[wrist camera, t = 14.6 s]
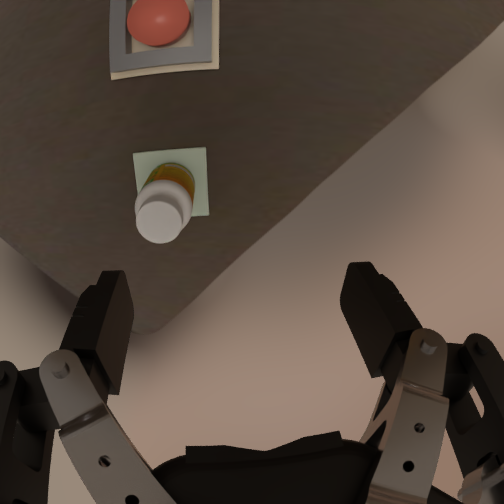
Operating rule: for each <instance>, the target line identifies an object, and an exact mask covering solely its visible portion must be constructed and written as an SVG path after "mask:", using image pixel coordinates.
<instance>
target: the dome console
mask: <svg viewBox="0 0 504 504" xmlns="http://www.w3.org/2000/svg"><path fill="white" fill-rule="evenodd" d="M136 1H137V0H110V24H109V52H110V73H111V80H117V79H123V78H129V77H136V76H143V75H151V74H159V73H168V72H179V71H192V70H210V69H219V0H185V2H186V4H187V6H188V9H189V11H190V15H191V24H190V27H189V30H188V32H187V33H186V35H185V36H184V37H183V38H182V39H181V40H179V41H178V42H177V43H175V44H173V45H170V46H167V47H161V48H156V47H151V46H148V45H146V44H143V43H141V42H139V41H137V40H136V39H135V38H133V36H132V35H131V34H130V32H129V30H128V27H127V17H128V13H129V11H130V9H131V7H132V6H133V4H134V3H135V2H136Z"/></svg>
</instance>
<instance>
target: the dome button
mask: <svg viewBox="0 0 504 504" xmlns="http://www.w3.org/2000/svg"><path fill="white" fill-rule="evenodd" d="M190 24H191V15H190V11H189V9H188V6H187V4H186V2H185V0H137V1H136V2H135V3H134V4H133V6H132V7H131V9H130V11H129V13H128V17H127V27H128V30H129V32H130V34H131V35H132V36H133V38H135V39H136V40H137V41H139V42H141V43H143V44H146V45H148V46H151V47H156V48H161V47H167V46H170V45H173V44H175V43H177V42H178V41H179V40H181V39H182V38H183V37H184V36H185V35H186V33H187V32H188V30H189V27H190Z"/></svg>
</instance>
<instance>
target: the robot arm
mask: <svg viewBox="0 0 504 504" xmlns="http://www.w3.org/2000/svg"><path fill="white" fill-rule="evenodd" d="M340 305H341V310H342V312H343V314H344V317H345V319H346V321H347V323H348V325H349V328H350V330H351V332H352V334H353V336H354V339H355V341H356V343H357V345H358V348H359V350H360V352H361V355H362V357H363V359H364V361H365V364H366V366H367V368H368V371H369V373H370V375H371V378H375V377H380V376H383V377H384V379H385V382H384V383H383V386H382V388H381V391H380V394H379V397H378V400H377V403H376V406H375V409H374V411H373V414H372V417H371V419H370V422H369V424H368V427H367V429H366V431H365V432H364V434H363V436H362V437H361V439H360V441H359V442H357V441H353V440H346V439H342V438H341V434H340V431H335V432H330V433H325V434H319V435H313V436H307V437H303V438H300V439H298V440H295V441H293V442H290V443H288V444H285V445H282V446H280V447H277V448H274V449H271V450H268V451H259V450H252V449H245V448H238V447H232V446H226V445H218V446H186V455H183V456H179V457H176V458H174V459H170V460H169V461H166V462H164V463H162V464H161V465H159V466H158V467H156V468H155V469H154V470H153V469H152V468H151V467H150V466H149V464H148V463H147V462H146V461H145V459H144V458H143V457H142V455H141V454H140V453H139V451H138V450H137V449H136V447H135V446H134V445H133V443H132V442H131V441H130V439H129V438H128V436H127V435H126V433H125V432H124V430H123V429H122V427H121V426H120V424H119V423H118V421H117V420H116V418H115V417H114V415H113V414H112V412H111V410H110V409H109V407H108V406H107V399H108V394H112V395H119V392H120V386H121V380H122V374H123V369H124V363H125V357H126V353H127V347H128V343H129V338H130V333H131V329H132V324H133V319H134V308H133V302H132V298H131V295H130V291H129V287H128V283H127V279H126V275H125V272H124V271H123V270H115V271H102V273H101V275H100V277H99V280H98V282H97V284H96V285H90V286H89V287H88V288H87V289H86V290H85V291H84V292H83V293H82V294H81V296H80V298H79V301H78V303H77V305H76V308H75V310H74V312H73V317H71V319H70V322H69V325H68V327H67V330H66V332H65V335H64V338H63V340H62V343H61V346H60V348H59V350H56V351H54V352H52V353H50V354H49V355H47V356H46V357H45V358H44V360H43V361H42V363H41V365H40V367H37V368H32V369H27V370H22V371H18V370H17V368H16V367H15V365H14V364H13V363H11V362H9V361H0V504H47V502H48V485H49V473H50V463H51V454H52V446H53V439H54V432H55V429H61V430H60V431H59V432H58V433H59V437H60V439H61V441H62V444H63V445H64V448H65V449H66V452H67V454H68V456H69V457H70V459H71V461H72V463H73V465H74V467H75V469H76V470H77V472H78V474H79V476H80V477H81V479H82V481H83V483H84V484H85V486H86V487H87V489H88V491H89V492H90V494H91V496H92V497H93V499H94V500H95V502H96V504H504V361H503V359H502V358H501V356H500V354H499V352H498V351H497V350H496V348H495V346H494V344H493V343H492V342H491V341H490V340H489V339H488V338H487V337H485V336H483V335H481V334H478V333H474V334H470V335H469V336H468V337H467V339H466V340H465V342H464V343H463V344H456V343H446V341H445V340H444V338H443V337H442V336H441V335H440V334H439V333H437V332H435V331H434V330H431V329H427V328H423V327H422V325H421V324H420V322H419V321H418V319H417V318H416V316H415V315H414V313H413V311H412V310H411V308H410V307H409V306H408V304H407V302H406V301H404V298H403V297H402V295H401V294H399V291H398V289H397V288H396V286H395V285H394V283H393V282H392V281H391V280H389V279H388V278H387V277H385V276H384V275H383V274H379V273H378V272H377V270H376V269H375V268H374V266H373V264H372V263H371V262H352V263H350V264H349V265H348V268H347V272H346V276H345V280H344V283H343V287H342V291H341V295H340ZM473 386H474V387H475V389H476V391H477V393H478V395H479V397H480V399H481V401H482V403H483V405H484V415H483V417H482V418H481V417H480V414H479V412H478V410H477V407H476V405H475V403H474V401H473V399H472V397H471V395H470V393H469V391H470V390H471V389H472V387H473ZM445 428H446V430H447V433H448V436H449V438H450V441H451V444H452V446H453V449H454V452H455V455H456V457H457V460H458V463H459V466H460V469H461V472H462V474H463V478H464V480H463V483H462V488H461V489H460V490H459V491H458V499H459V500H460V501H462V502H460V501H458V500H456V499H455V498H453V497H451V496H450V495H448V494H446V493H444V492H443V491H441V490H439V489H438V488H436V487H434V486H433V485H432V481H433V477H434V474H435V470H436V467H437V462H438V459H439V454H440V449H441V446H442V441H443V436H444V431H445Z"/></svg>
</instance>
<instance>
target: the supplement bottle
mask: <svg viewBox="0 0 504 504" xmlns="http://www.w3.org/2000/svg"><path fill="white" fill-rule="evenodd" d="M194 193H195V179H194V176H193V174H192V173H191V171H190V170H189V169H188V168H187V167H186V166H184V165H182V164H180V163H177V162H165V163H162V164H160V165H158V166H157V167H155V168H154V169H153V170H152V172H151V173H150V175H149V177H148V178H147V180H146V182H145V184H144V185H143V187H142V189H141V190H140V192H139V194H138V196H137V199H136V202H135V213H136V225H137V228H138V231H139V232H140V234H141V235H142V236H143V237H144V238H145V239H147V240H149V241H151V242H154V243H167V242H170V241H172V240H173V239H175V238H176V237H177V236H178V234H179V233H180V231H181V230H182V229H183V228H184V227H185V226H186V225H187V223H188V222H189V220H190V217H191V214H192V209H193V200H194Z"/></svg>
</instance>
